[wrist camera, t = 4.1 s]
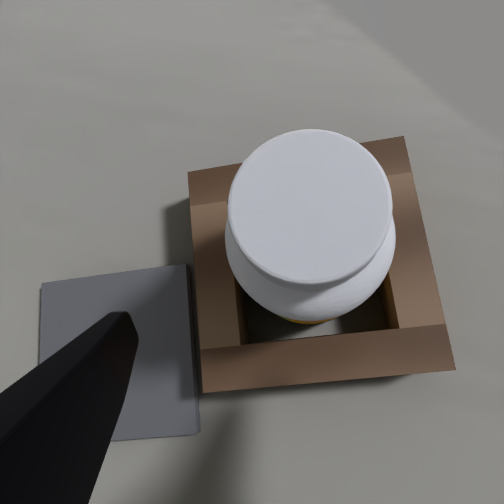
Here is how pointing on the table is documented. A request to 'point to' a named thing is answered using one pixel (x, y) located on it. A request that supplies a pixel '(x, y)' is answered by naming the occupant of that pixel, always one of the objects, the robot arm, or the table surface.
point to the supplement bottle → (310, 225)
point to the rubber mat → (149, 347)
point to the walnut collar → (328, 346)
